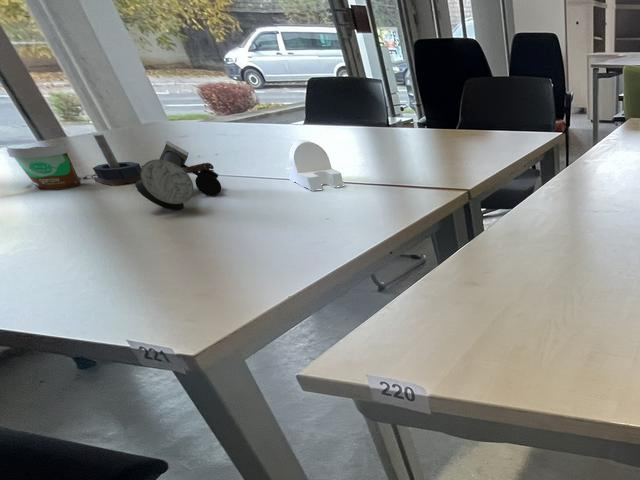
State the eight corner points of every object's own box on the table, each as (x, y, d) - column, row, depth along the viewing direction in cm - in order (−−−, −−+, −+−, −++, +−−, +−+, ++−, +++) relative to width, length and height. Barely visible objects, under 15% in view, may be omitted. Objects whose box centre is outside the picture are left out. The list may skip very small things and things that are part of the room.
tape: (112, 181, 141) (106, 171, 139) (91, 176, 144) (86, 166, 142) (150, 174, 148) (145, 164, 146) (129, 170, 151) (125, 160, 149)
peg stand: (114, 185, 143) (88, 138, 135) (95, 182, 145) (69, 135, 138) (148, 179, 149) (125, 134, 141) (129, 175, 152) (106, 131, 144)
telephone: (207, 237, 128) (209, 204, 147) (228, 193, 125) (227, 165, 144) (128, 199, 117) (141, 169, 136) (149, 149, 114) (159, 126, 133)
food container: (29, 193, 135) (2, 150, 128) (30, 188, 138) (3, 146, 132) (88, 187, 141) (64, 145, 135) (87, 182, 145) (64, 142, 138)
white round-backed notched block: (312, 191, 142) (298, 148, 135) (289, 179, 152) (274, 138, 145) (345, 186, 148) (334, 144, 141) (321, 175, 157) (309, 135, 150)
